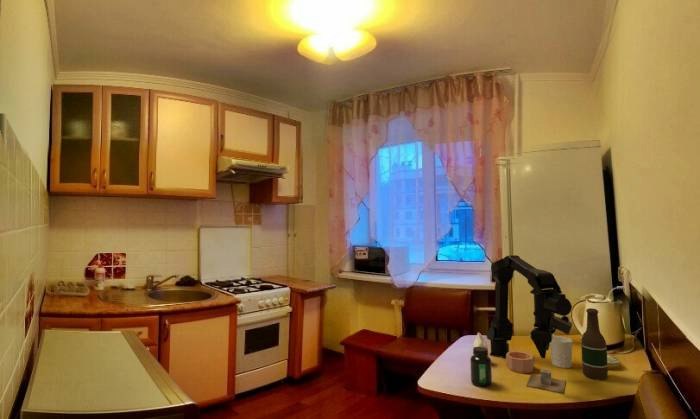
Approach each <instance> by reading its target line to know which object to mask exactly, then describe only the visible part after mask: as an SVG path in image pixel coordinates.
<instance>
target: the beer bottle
mask: <svg viewBox="0 0 700 419" xmlns="http://www.w3.org/2000/svg"><path fill="white" fill-rule="evenodd" d="M585 313H586V314H587V315H586V328H585V329H586V330H585V332H584V333H583V334H582V337H581V342H580V344H581V345H580V347H581V368H582V374H583V375H584V376H585V377H586V378H588V379H590V380H594V381H605V380H607V379H608V378H609V369H608V365H607V354H608V346H607V341H606V339H605V337H604V335H603V334H602V333H601V329H600V323H599V315H598V314H599V313H600V312H599V310H598V309H597V308H592V307H591V308H586V311H585Z"/></svg>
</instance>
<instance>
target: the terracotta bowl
mask: <svg viewBox="0 0 700 419" xmlns="http://www.w3.org/2000/svg"><path fill="white" fill-rule="evenodd" d="M505 361H506V363H505V364H506V368H507V369H508V370H509V371H511V372H515V373H518V374H532V373H533V371H534V365H535V363H534V355H532V354H530V353H528V352H524V351H518V350H514V351H509V352H508V353H507V354H506V358H505Z"/></svg>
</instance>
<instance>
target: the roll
mask: <svg viewBox="0 0 700 419" xmlns="http://www.w3.org/2000/svg"><path fill="white" fill-rule="evenodd" d="M475 338H476V339H475V340H474V341H473V345H472V347H473V348H474V347H484V348H487V349H488V350H489V346H488V342H487V340H485V338H484V337H483V335H482V334H481V333H480V332H477V334H476V337H475ZM473 348H472V349H473Z"/></svg>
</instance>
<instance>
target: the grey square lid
mask: <svg viewBox="0 0 700 419" xmlns="http://www.w3.org/2000/svg"><path fill="white" fill-rule="evenodd" d="M539 374H540V375H537V374H532V373H530V376H529V377H528V381H527V383H526V385H525V386H526V387H527V388H531V389H537V390H541V391H546V392H550V391H551V393H557V394H561V395H564V392H565V387H566V382H567V381H566V380H565V379H559V378H553V377H552V370H550V369H544V368H541V369H540V373H539Z"/></svg>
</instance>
